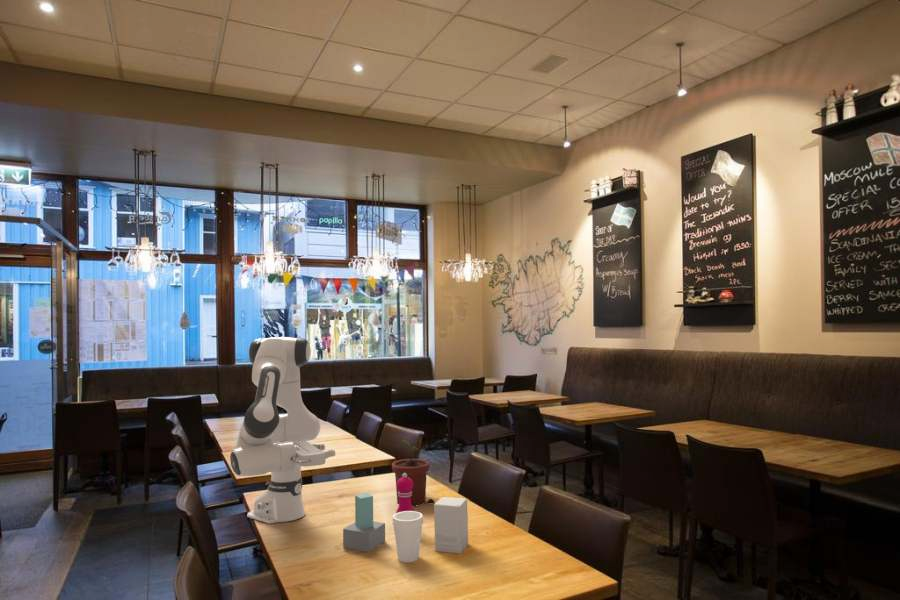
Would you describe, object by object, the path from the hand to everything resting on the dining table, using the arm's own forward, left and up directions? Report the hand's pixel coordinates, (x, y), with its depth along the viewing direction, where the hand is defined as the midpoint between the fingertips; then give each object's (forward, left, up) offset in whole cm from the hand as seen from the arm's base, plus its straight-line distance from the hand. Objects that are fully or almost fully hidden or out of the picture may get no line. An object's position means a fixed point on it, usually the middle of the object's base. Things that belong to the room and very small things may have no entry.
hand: (329, 449), depth 182 cm
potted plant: (-1, +59, -33) cm, 67 cm away
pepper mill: (+13, +27, -33) cm, 45 cm away
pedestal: (+7, +10, -33) cm, 35 cm away
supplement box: (+35, +19, -33) cm, 52 cm away
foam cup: (+26, +6, -33) cm, 42 cm away
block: (+6, +10, -27) cm, 29 cm away
